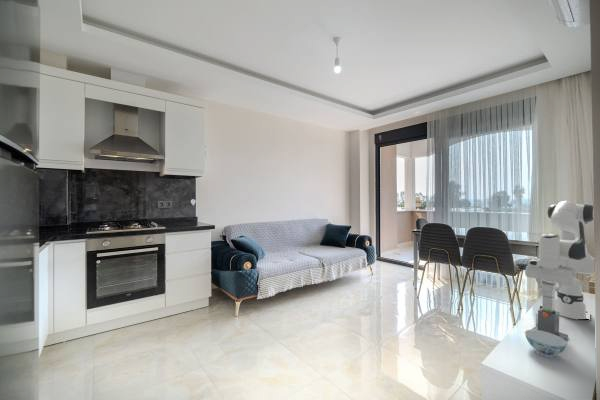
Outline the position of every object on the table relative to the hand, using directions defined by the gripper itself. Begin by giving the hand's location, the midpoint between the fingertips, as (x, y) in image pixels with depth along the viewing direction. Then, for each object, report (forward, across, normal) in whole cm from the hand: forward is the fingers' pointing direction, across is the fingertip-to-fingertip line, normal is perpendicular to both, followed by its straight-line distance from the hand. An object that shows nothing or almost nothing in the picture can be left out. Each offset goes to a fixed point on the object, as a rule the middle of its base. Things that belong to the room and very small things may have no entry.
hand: (548, 289), depth 147 cm
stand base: (+26, 0, 0) cm, 26 cm away
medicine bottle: (+26, +4, -12) cm, 29 cm away
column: (+18, 0, 0) cm, 18 cm away
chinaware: (+26, -5, +23) cm, 35 cm away
